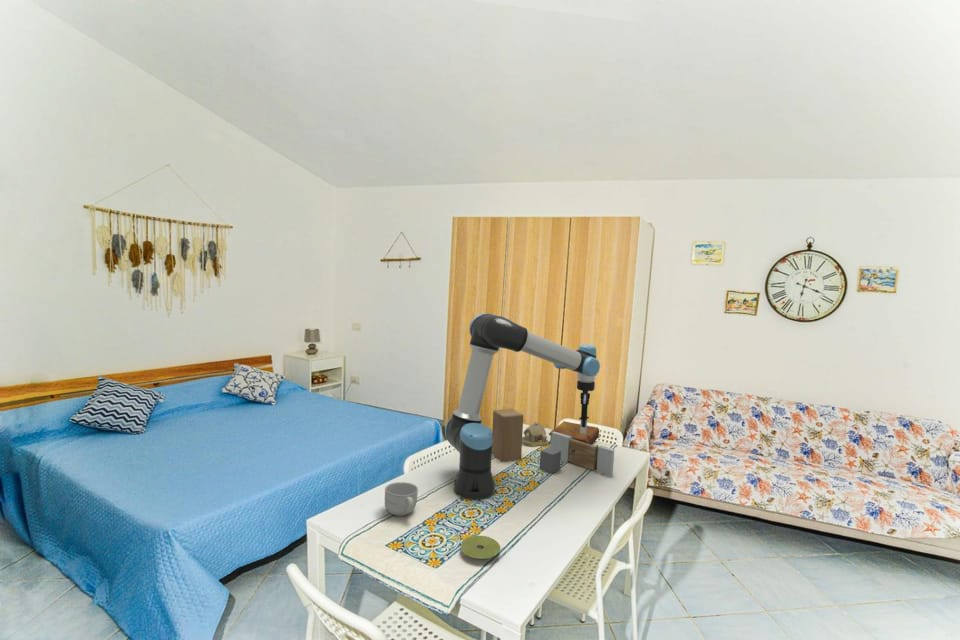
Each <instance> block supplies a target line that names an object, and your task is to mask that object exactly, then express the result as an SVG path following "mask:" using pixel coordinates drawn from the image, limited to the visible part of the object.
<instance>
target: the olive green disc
mask: <svg viewBox="0 0 960 640" xmlns="http://www.w3.org/2000/svg"><path fill="white" fill-rule="evenodd" d="M460 550H461V551H462V553H463V554H464V555H465V556H468V557H470V558H473V559H490V558H493V557H495V556H497V555H498V554H499V553H500V551H501V545H500V544H499V542H498V541H497V540H496V539H494V538H493V537H490V536H486V535H472V536H468V537H466V538H464V540H462V541H461V543H460Z"/></svg>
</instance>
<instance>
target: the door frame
mask: <svg viewBox="0 0 960 640" xmlns="http://www.w3.org/2000/svg"><path fill="white" fill-rule="evenodd" d="M550 432H551V431H550ZM550 438H551V444H550V448H553V449H556V450H559V451H561V460H560V462H564V463H567V464H568V463H570V462H569V447H570V439H572V437H571V436H568V435H564V434H561V433H557V432H551V435H550ZM614 457H615V449H613V448H611V447H608V446H607V447H606V446H604V445H598V458H597V471H596V474H598V475H601V476H605V477H609V478H611V477H613V475H614V474H613V473H614V462H615V458H614Z"/></svg>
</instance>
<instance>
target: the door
mask: <svg viewBox="0 0 960 640" xmlns="http://www.w3.org/2000/svg"><path fill="white" fill-rule="evenodd" d="M598 447H599V444H596V445H593V444H592V445H590V444H587V443H584V442H581V441H577V440H574V439H570V447H569V462H568V463H571V464H574V465H577V466H579V467H582V468H585V469H589V470H591V471H596V472H597V458H598Z"/></svg>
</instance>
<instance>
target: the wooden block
mask: <svg viewBox="0 0 960 640" xmlns="http://www.w3.org/2000/svg"><path fill="white" fill-rule="evenodd" d="M491 431H492V438H493V443H492V456H493V457H495V458H496V459H497V460H498V459H499V462H502V463H503V461H504V462H509V460H511V461H516V460H517V461H518V460H521V459H522V452H523V451H522V450H523V449H522V448H523V445H522V437H523V433H524V414H523V413H521V412H519V411H518V410H516V409H514V408H504V409H494V410H493V412H492V430H491Z"/></svg>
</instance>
